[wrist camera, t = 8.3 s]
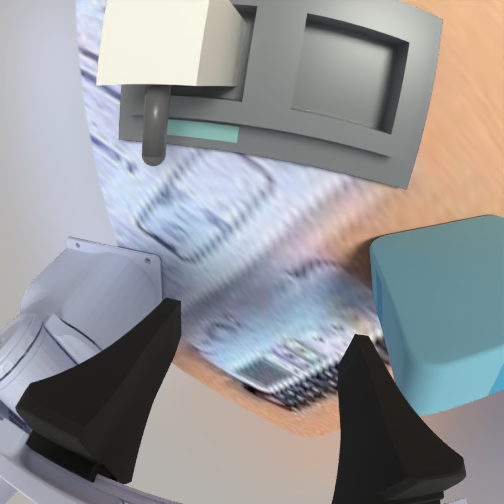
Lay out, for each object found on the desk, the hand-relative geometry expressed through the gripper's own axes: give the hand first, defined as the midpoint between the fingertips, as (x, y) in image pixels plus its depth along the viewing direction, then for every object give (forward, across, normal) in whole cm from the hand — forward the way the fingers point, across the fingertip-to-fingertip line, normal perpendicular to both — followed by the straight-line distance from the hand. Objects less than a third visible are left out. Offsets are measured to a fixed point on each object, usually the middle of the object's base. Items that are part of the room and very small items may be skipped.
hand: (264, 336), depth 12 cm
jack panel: (+10, +2, -11) cm, 15 cm away
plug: (+9, +6, -9) cm, 14 cm away
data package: (+11, -12, -1) cm, 17 cm away
